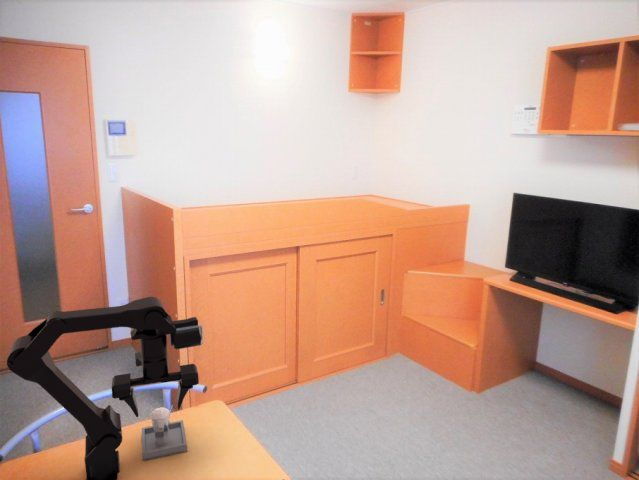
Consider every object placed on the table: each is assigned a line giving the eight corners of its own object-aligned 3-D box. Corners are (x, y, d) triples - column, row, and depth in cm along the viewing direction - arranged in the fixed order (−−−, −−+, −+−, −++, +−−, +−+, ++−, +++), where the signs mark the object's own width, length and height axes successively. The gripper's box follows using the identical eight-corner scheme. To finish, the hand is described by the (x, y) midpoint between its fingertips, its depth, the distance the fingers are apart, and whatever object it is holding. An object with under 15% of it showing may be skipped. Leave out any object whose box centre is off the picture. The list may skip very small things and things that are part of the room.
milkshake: (174, 445, 118) (172, 410, 116) (152, 448, 116) (149, 413, 114) (174, 433, 122) (172, 400, 120) (152, 437, 121) (150, 403, 118)
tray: (142, 461, 113) (142, 453, 112) (142, 434, 122) (141, 428, 122) (187, 451, 117) (186, 444, 116) (183, 426, 126) (182, 420, 126)
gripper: (192, 332, 117) (194, 387, 121) (111, 342, 111) (116, 400, 115) (197, 352, 107) (200, 412, 111) (109, 365, 101) (114, 428, 105)
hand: (158, 412), depth 111 cm, fingers open, 9 cm apart
